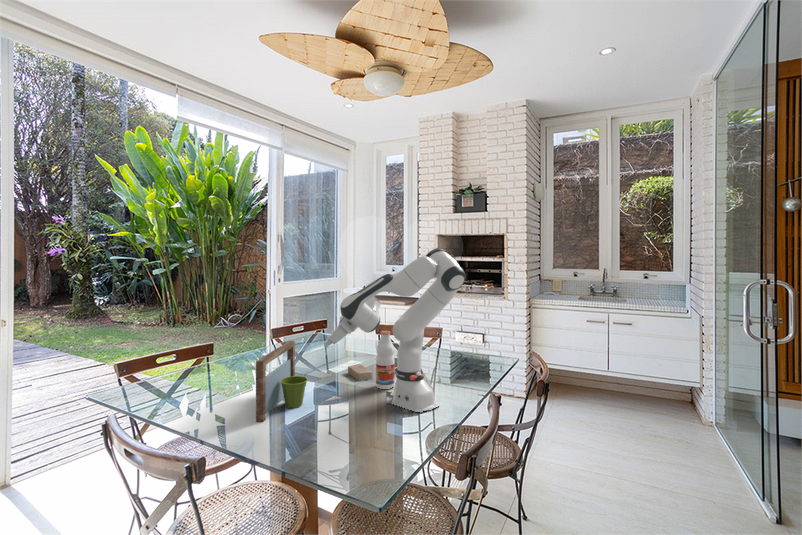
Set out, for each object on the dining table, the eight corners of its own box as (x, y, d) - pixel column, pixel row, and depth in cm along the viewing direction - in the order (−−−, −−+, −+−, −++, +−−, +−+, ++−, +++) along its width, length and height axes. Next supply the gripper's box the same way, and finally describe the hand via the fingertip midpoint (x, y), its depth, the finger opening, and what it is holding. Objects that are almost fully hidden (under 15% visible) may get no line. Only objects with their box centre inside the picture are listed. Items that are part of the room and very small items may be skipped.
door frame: (294, 390, 187) (294, 341, 186) (263, 422, 150) (263, 361, 150) (288, 390, 187) (288, 341, 186) (255, 422, 150) (255, 361, 150)
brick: (373, 379, 206) (373, 370, 206) (358, 381, 201) (359, 372, 201) (360, 371, 220) (360, 363, 220) (347, 373, 216) (347, 365, 216)
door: (290, 390, 184) (290, 359, 184) (264, 416, 154) (264, 379, 153) (284, 390, 184) (284, 359, 184) (257, 415, 154) (257, 378, 153)
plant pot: (300, 411, 161) (300, 385, 161) (274, 409, 163) (274, 383, 163) (312, 401, 173) (312, 376, 172) (288, 399, 175) (288, 374, 175)
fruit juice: (391, 383, 199) (391, 329, 198) (396, 389, 190) (397, 332, 189) (373, 384, 196) (374, 330, 195) (378, 391, 187) (378, 333, 186)
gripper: (347, 312, 180) (326, 332, 180) (341, 321, 159) (317, 344, 160) (356, 322, 180) (335, 342, 181) (351, 332, 160) (328, 355, 160)
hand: (327, 343), depth 170 cm, fingers open, 8 cm apart
